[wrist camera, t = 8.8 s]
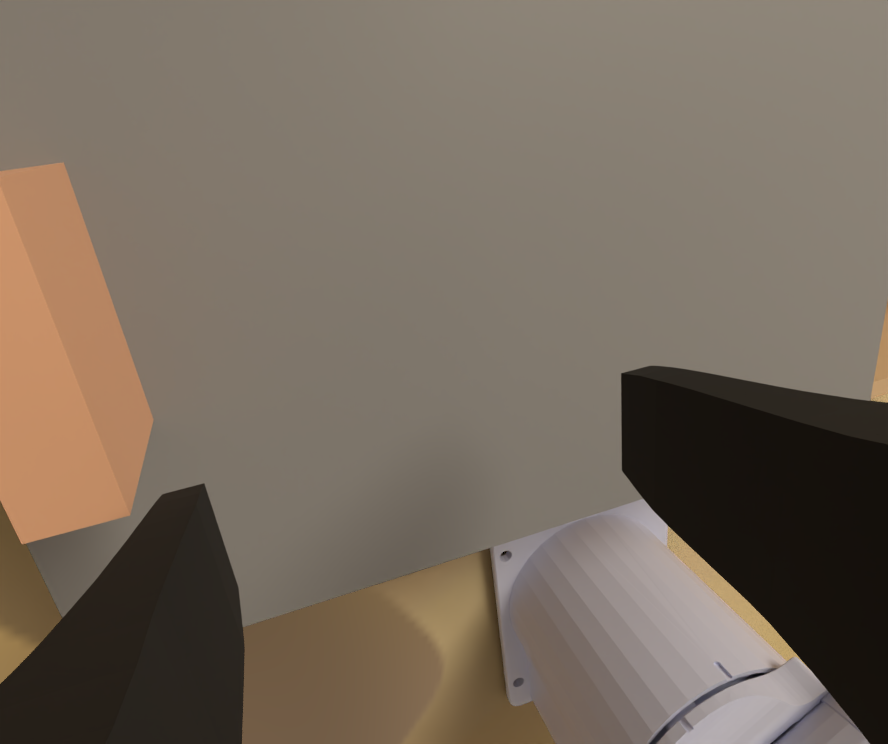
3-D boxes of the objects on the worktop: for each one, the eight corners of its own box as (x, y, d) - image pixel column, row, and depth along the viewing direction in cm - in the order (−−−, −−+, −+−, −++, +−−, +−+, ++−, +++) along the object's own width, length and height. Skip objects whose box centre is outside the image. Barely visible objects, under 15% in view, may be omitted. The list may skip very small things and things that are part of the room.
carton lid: (849, 419, 20) (985, 483, 17) (95, 656, 15) (52, 829, 11) (955, -254, 14) (1222, -394, 10) (-345, -271, 8) (-804, -589, 4)
